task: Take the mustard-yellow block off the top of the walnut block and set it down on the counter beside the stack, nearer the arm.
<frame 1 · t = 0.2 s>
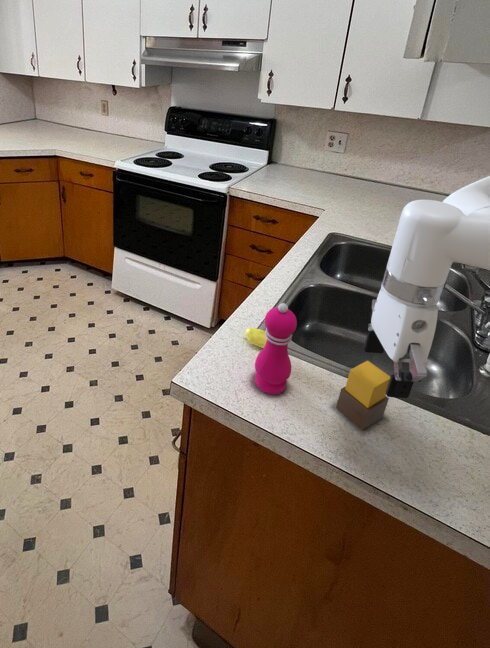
hand: (384, 372, 69), 17 cm above the worktop, tool pointing down, fingers open, 9 cm apart
pepper mill: (270, 383, 89), on the worktop
mustard block: (364, 393, 80), point 5 cm above the worktop, touching walnut block
lemon: (259, 345, 99), on the worktop
walnut block: (358, 412, 82), on the worktop, touching mustard block
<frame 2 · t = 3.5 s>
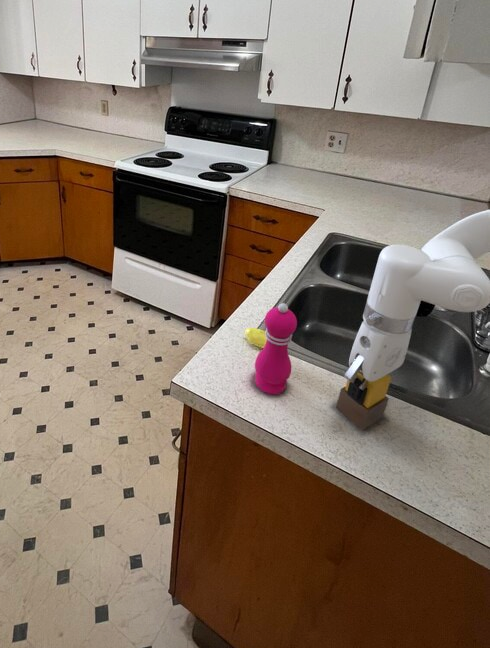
hand: (364, 392, 80), 5 cm above the worktop, tool pointing down, fingers closed on mustard block, 5 cm apart
mustard block: (364, 393, 80), point 5 cm above the worktop, touching gripper, walnut block
everything else where it was.
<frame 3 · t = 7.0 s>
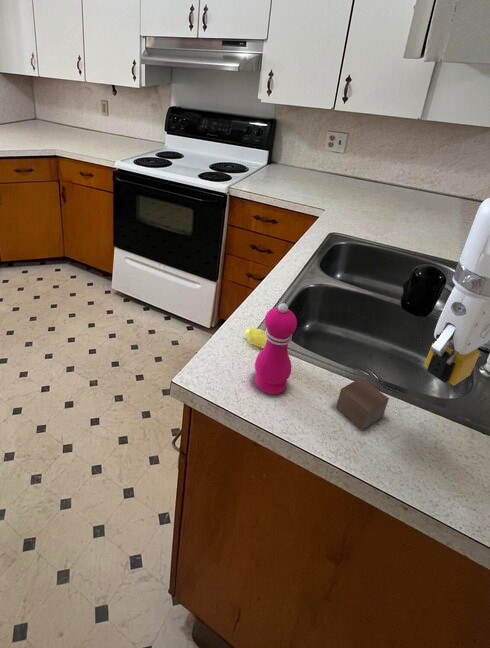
hand: (447, 369, 71), 16 cm above the worktop, tool pointing down, fingers closed on mustard block, 5 cm apart
mustard block: (446, 370, 71), point 16 cm above the worktop, touching gripper
walnut block: (358, 412, 82), on the worktop
everything else where it was.
when the fingers open (0 cm above the worktop, at t = 10.9 s): mustard block stays where it is, on the worktop.
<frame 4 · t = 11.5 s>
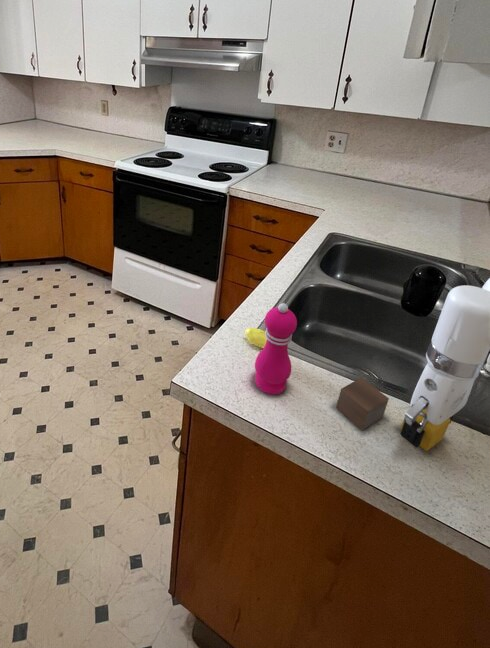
hand: (425, 429, 77), 2 cm above the worktop, tool pointing down, fingers open, 9 cm apart
mustard block: (421, 434, 78), on the worktop
everything else where it was.
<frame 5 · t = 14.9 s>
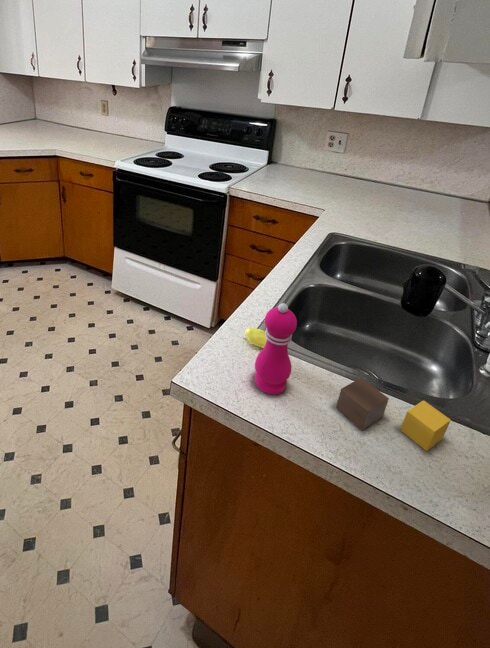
nothing on the worktop moved.
at the end: mustard block 0.1 cm from the target spot, on the worktop; mustard block tilted 0°; walnut block moved 0.0 cm from its start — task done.
